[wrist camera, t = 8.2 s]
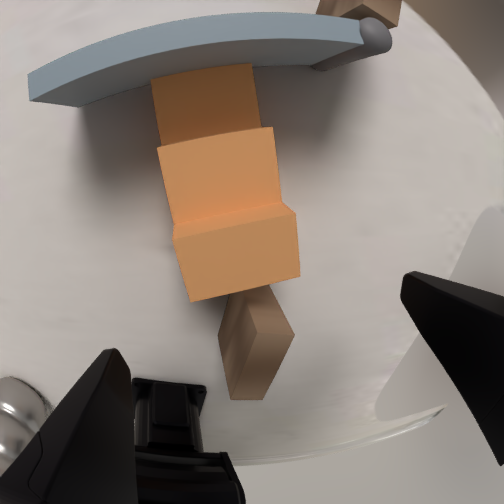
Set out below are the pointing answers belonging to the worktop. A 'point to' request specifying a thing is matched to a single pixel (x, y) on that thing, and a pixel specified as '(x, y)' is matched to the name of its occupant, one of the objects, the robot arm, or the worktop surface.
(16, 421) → the silver bottle
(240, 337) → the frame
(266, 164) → the orange stepped block
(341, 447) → the worktop surface
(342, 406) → the worktop surface
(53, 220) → the worktop surface
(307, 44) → the grey piece
